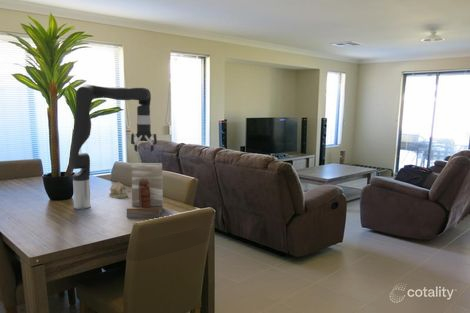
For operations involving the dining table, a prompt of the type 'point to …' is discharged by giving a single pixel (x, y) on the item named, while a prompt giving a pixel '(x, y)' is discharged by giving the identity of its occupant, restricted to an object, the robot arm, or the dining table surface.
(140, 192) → the wooden figurine
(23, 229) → the dining table surface
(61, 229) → the dining table surface
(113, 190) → the ceramic model
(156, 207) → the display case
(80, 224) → the dining table surface
